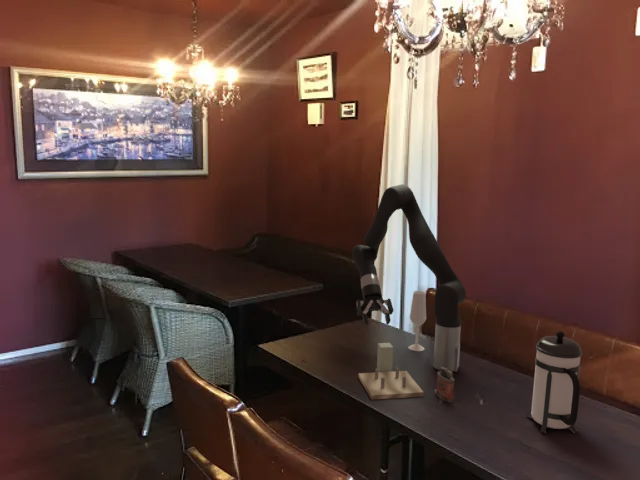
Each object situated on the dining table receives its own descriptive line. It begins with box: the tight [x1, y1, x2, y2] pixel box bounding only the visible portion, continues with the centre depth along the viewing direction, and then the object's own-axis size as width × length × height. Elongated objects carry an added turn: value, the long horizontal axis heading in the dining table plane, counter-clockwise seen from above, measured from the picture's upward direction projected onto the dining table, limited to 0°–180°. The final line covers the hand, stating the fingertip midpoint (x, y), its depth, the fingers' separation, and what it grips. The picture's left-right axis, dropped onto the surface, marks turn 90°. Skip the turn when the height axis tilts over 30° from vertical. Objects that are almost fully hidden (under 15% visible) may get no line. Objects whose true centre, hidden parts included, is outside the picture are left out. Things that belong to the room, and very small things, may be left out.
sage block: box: [376, 342, 394, 372], centre depth 210 cm, size 4×4×10 cm
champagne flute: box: [407, 290, 427, 352], centre depth 232 cm, size 7×7×24 cm
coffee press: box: [526, 330, 583, 434], centre depth 168 cm, size 17×16×30 cm
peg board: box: [357, 366, 424, 400], centre depth 196 cm, size 18×18×5 cm
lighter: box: [435, 367, 456, 403], centre depth 189 cm, size 8×3×10 cm, turn 21°
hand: (377, 323), depth 219 cm, fingers open, 8 cm apart
